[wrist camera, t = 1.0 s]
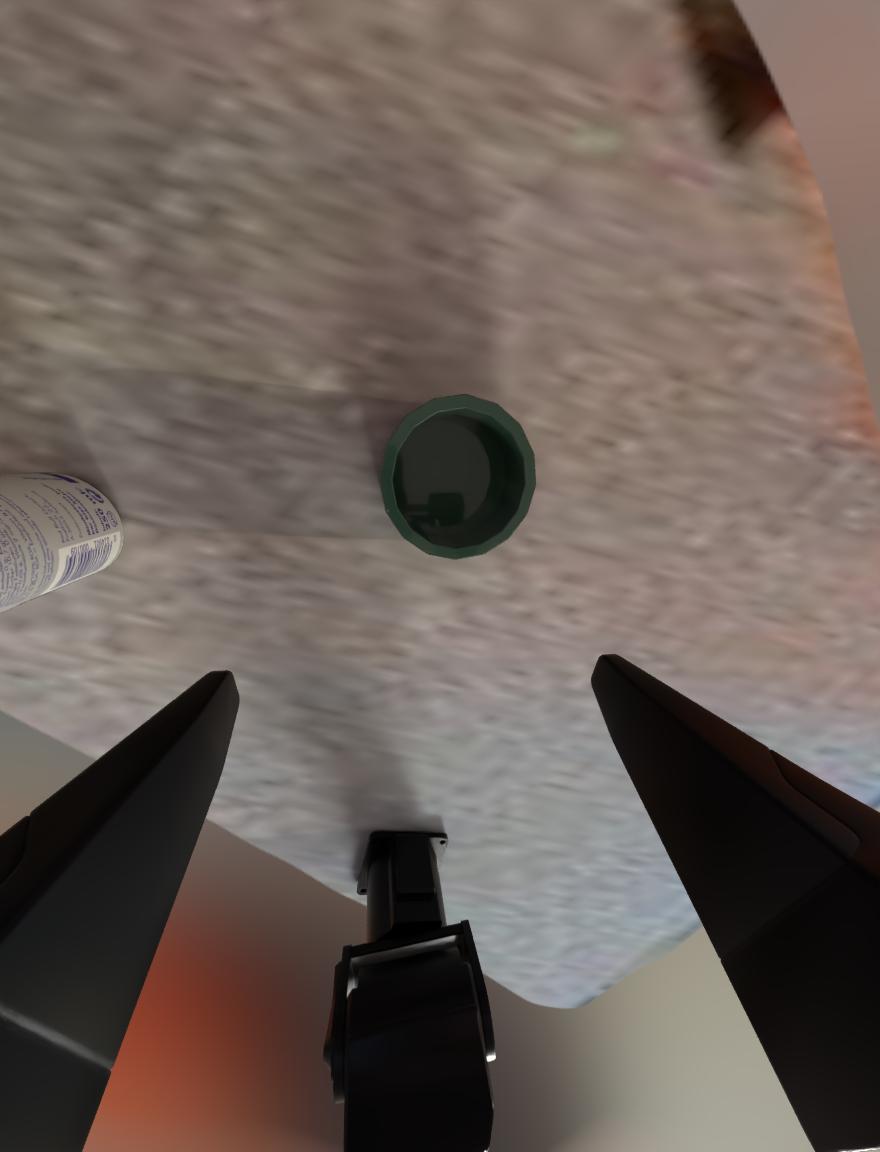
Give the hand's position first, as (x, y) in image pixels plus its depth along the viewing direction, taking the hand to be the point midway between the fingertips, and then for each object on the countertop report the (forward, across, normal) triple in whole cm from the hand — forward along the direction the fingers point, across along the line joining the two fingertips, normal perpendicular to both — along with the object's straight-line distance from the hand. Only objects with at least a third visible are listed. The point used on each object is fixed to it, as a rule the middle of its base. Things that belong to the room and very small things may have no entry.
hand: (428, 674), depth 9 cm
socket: (+15, -3, -1) cm, 15 cm away
